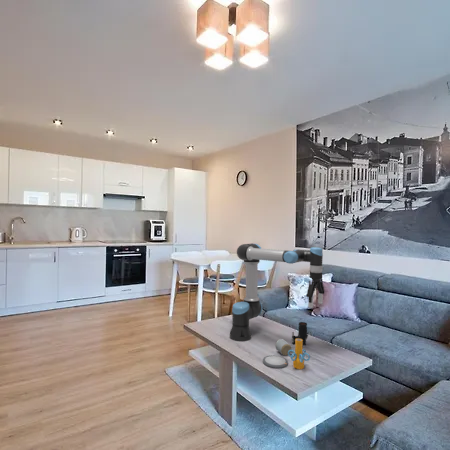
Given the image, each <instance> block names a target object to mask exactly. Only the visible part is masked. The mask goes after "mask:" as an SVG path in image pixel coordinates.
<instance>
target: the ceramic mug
mask: <svg viewBox="0 0 450 450" xmlns="http://www.w3.org/2000/svg"><path fill="white" fill-rule="evenodd" d="M274 345H275V349H276V351H278V352H279V353H280V354H281V355H282V356H289V355H288V351H289V350H293V351H294V352H295V349H293V348H292V345H291V344H289V343H288V342H287V341H286V340H285V339H283V338H279V339H278V340H277V341H276V343H275V344H274ZM289 354H290V355H291V354H293V352H292V351H290V352H289Z"/></svg>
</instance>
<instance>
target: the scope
mask: <svg viewBox="0 0 450 450" xmlns="http://www.w3.org/2000/svg"><path fill="white" fill-rule="evenodd" d="M307 326H308V323H307V322H304V321H300V322H298V333H297V335H294V333H295V332H294V331H292V333H291V335H292V336H291V337H292V338H291V339H290V341H291V344H292V345H293V346H295V339H302V340H303V346H306V344H307V340H308V337H309V334H308V327H307Z"/></svg>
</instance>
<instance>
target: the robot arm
mask: <svg viewBox="0 0 450 450" xmlns="http://www.w3.org/2000/svg"><path fill="white" fill-rule="evenodd" d="M236 256H237V257H238V258H239V259H240V260H242V261H243V263H244V264H245V297H244V298H243V301H237V302H235V303H233V305H232V310H231V311H232V314H231V315H232V319H231V320H232V321H231V322H232V323H231V324H232V325H231V328H230V331H229V332H230V333H229V339H230V340H233V341H237V342H238V341H239V342H245V341H250V340H251V339H252V331H251V329H250V320H252V319H254V318H257V317H258V316H260V315H261V314H262V313H263V309H264V308H263V304H262V302H261V300H260V298H259V296H258V293H259V292H258V291H259V288H258V284H259V281H258V279H259V278H258V277H259V276H258V275H259V274H258V271H259V270H258V264H260V263H261V261H266V262H267V261H269V262H278V263H286V264H289V265H291V264H292V265H293V264H296V263H300V262H305V263H306V262H307V263H309V278H310V279H311V280H309V283H308V289H307V292H306V298H308V300H307V301H308V303H307V304H308V308H310V309H314V293H315V291H316V290H317V291H318V295H317V297H318V298H317V304H318V305H319V304H320V305H323V302H324V301H323V300H324V299H323V297H324V296H323V295H324V294H325V285H324V283H323V269H324V268H323V256H324V255H323V248H322V247H316V246H315V247H310V249H307V250H306V249H293V250H285V249H284V250H283V249H272V248H271V249H270V248H262V247H261V245H259V244H257V243H254V242H253V243H244V244H243V243H242V244H241V245H239V246H238V247H237V249H236Z"/></svg>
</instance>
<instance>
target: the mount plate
mask: <svg viewBox="0 0 450 450" xmlns="http://www.w3.org/2000/svg"><path fill="white" fill-rule="evenodd" d="M288 361H289V360H288V359H287V358H285V357H283V356H281V355H275V354H274V355H267V356H264V357H263V358H262V364H263V365H264V366H266V367H268V368H272V369H284V368H286V367H288V364H289V362H288Z"/></svg>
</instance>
